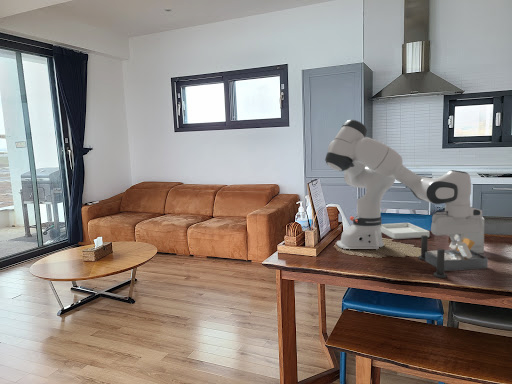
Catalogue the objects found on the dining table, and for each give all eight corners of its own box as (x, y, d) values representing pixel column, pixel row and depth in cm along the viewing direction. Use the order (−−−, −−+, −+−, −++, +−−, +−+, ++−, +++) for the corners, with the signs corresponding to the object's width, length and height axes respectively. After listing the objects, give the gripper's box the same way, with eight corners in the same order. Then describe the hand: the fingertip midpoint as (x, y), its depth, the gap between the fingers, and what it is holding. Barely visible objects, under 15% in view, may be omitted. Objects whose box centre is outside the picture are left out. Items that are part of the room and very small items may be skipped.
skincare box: (482, 250, 166) (483, 216, 164) (484, 254, 160) (485, 219, 158) (460, 248, 169) (462, 215, 167) (462, 252, 163) (463, 218, 161)
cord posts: (435, 277, 134) (436, 251, 133) (417, 257, 159) (417, 234, 158) (448, 278, 134) (449, 251, 132) (427, 257, 158) (428, 234, 157)
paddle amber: (462, 252, 146) (471, 240, 145) (456, 249, 150) (465, 237, 149) (466, 255, 146) (475, 242, 146) (459, 252, 150) (468, 240, 150)
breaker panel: (443, 271, 141) (443, 259, 140) (424, 260, 154) (425, 250, 153) (487, 268, 143) (487, 256, 142) (465, 258, 155) (465, 247, 155)
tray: (394, 239, 189) (394, 233, 189) (376, 229, 211) (376, 224, 211) (429, 237, 191) (429, 231, 190) (408, 227, 213) (408, 222, 212)
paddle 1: (454, 249, 151) (461, 236, 150) (448, 246, 155) (455, 234, 154) (458, 251, 151) (465, 238, 150) (452, 248, 155) (459, 235, 154)
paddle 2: (468, 258, 141) (462, 245, 140) (461, 255, 145) (455, 243, 144) (472, 256, 141) (466, 243, 140) (465, 253, 145) (459, 240, 144)
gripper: (437, 213, 142) (436, 248, 143) (486, 210, 144) (485, 245, 145) (428, 210, 148) (427, 244, 150) (475, 208, 150) (474, 241, 152)
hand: (456, 244), depth 148 cm, fingers closed
